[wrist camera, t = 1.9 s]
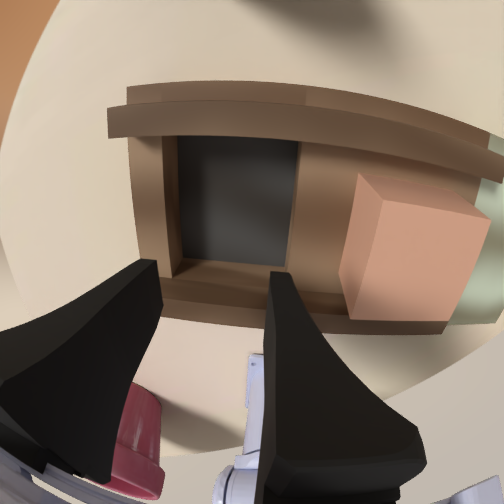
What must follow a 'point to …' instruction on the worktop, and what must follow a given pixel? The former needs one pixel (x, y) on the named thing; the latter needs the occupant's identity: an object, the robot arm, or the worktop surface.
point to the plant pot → (138, 448)
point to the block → (408, 250)
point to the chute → (290, 194)
